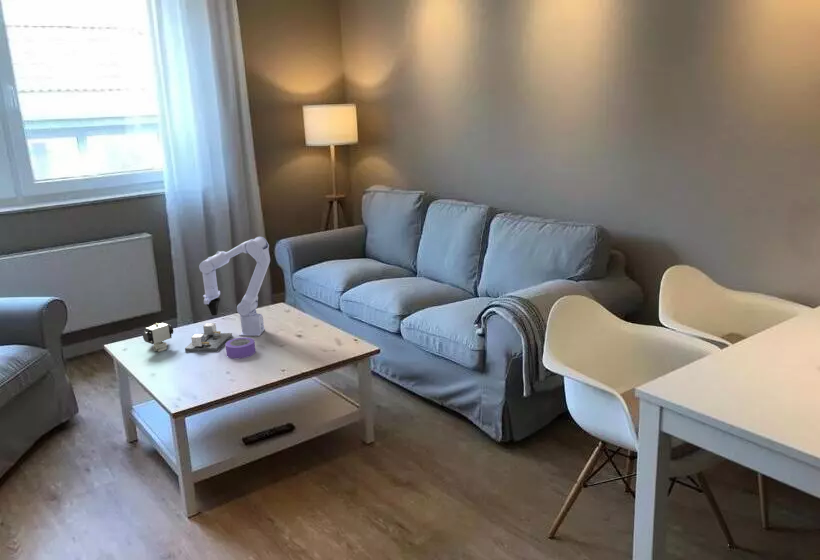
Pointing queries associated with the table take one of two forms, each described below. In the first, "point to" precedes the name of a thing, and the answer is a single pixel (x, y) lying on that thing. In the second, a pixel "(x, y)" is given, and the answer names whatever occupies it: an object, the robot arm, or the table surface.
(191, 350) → the bolt plate
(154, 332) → the pneumatic valve
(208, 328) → the sliding block
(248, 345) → the tape roll
